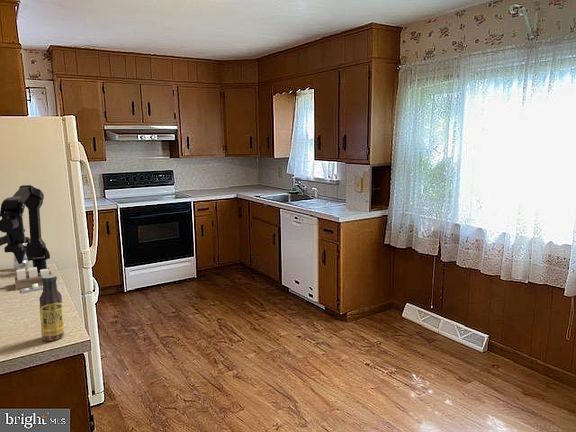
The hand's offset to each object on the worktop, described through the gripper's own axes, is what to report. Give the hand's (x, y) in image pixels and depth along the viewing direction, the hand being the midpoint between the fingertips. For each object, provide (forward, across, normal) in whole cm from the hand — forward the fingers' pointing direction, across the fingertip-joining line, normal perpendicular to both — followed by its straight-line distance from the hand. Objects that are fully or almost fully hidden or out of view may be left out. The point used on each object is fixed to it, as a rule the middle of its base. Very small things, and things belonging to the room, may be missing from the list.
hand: (20, 263), depth 186 cm
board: (+10, -1, +4) cm, 11 cm away
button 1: (+8, 0, 0) cm, 8 cm away
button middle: (+8, -1, +4) cm, 9 cm away
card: (+10, +7, +6) cm, 14 cm away
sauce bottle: (+10, +65, +21) cm, 69 cm away
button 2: (+9, -2, +9) cm, 13 cm away
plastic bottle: (+10, -31, -6) cm, 34 cm away
